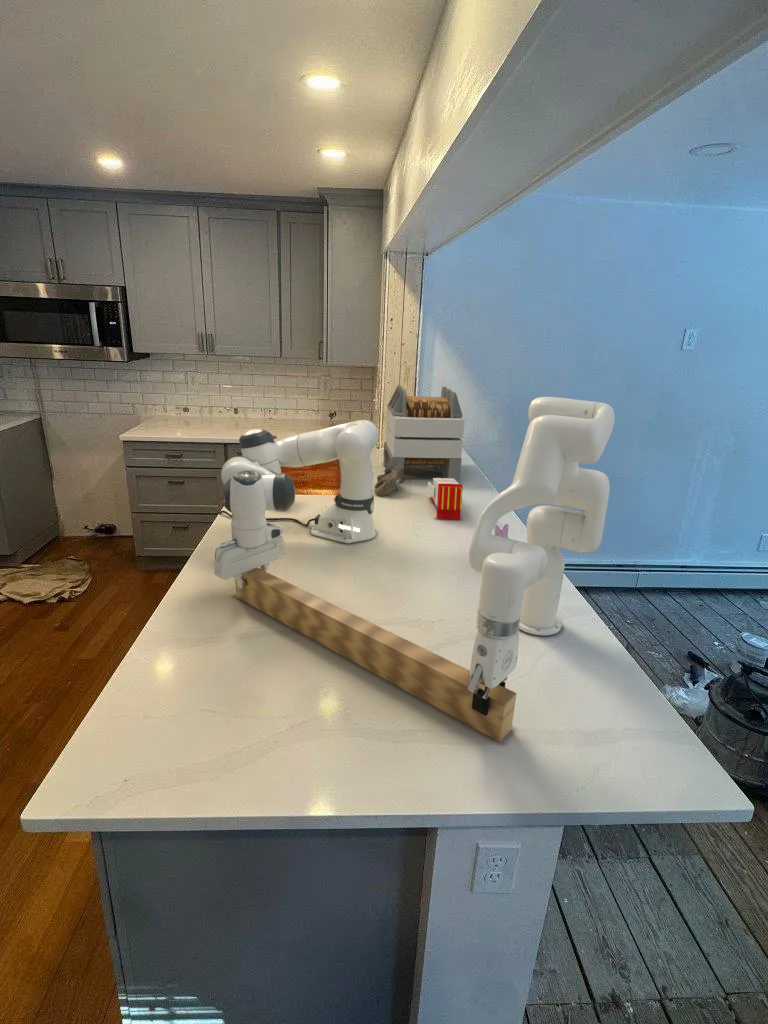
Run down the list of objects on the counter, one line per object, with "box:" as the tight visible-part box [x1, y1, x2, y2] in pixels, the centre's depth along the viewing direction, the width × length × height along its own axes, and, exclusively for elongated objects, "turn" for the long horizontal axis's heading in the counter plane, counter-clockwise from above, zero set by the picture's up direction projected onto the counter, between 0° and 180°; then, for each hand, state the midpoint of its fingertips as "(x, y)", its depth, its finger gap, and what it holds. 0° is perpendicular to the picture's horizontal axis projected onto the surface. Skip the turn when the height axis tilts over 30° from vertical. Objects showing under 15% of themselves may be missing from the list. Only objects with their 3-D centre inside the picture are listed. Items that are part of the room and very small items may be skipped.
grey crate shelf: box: [383, 384, 465, 484], centre depth 268 cm, size 34×33×41 cm
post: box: [234, 567, 517, 743], centre depth 129 cm, size 80×5×8 cm, turn 50°
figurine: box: [493, 523, 510, 539], centre depth 172 cm, size 9×10×15 cm
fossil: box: [374, 466, 405, 497], centre depth 246 cm, size 22×10×15 cm
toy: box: [427, 477, 464, 520], centre depth 227 cm, size 12×13×30 cm
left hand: (251, 582), depth 150 cm, fingers open, 5 cm apart
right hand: (487, 703), depth 108 cm, fingers open, 5 cm apart
